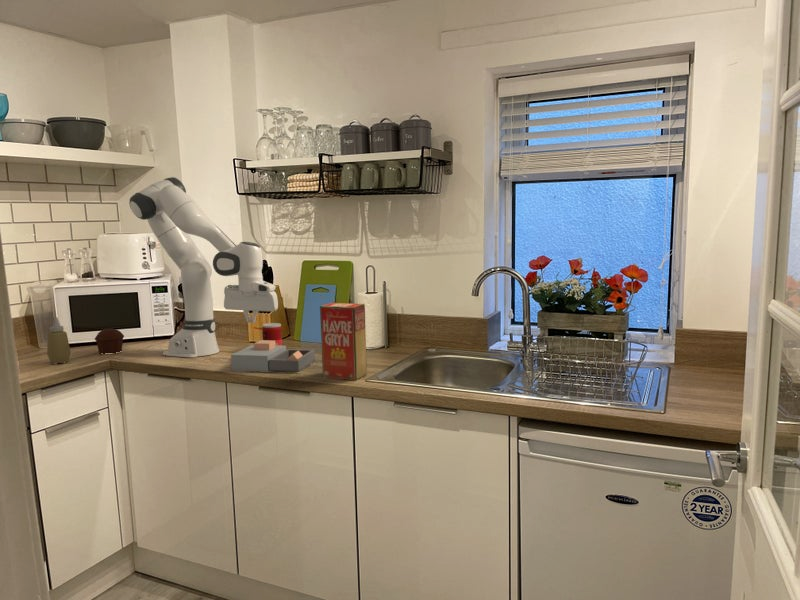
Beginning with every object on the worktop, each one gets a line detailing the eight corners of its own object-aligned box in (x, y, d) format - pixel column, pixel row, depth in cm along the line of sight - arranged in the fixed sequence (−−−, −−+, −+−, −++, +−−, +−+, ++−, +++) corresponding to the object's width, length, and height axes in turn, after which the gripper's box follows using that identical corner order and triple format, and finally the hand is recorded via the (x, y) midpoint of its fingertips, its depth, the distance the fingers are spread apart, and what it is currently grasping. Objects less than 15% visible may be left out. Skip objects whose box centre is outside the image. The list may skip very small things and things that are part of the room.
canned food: (286, 349, 260) (284, 323, 258) (274, 353, 252) (273, 326, 251) (271, 347, 263) (270, 322, 261) (259, 351, 256) (258, 325, 254)
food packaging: (321, 377, 211) (318, 305, 208) (334, 371, 220) (331, 302, 216) (356, 380, 206) (354, 307, 203) (368, 374, 215) (366, 303, 211)
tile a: (292, 353, 219) (297, 359, 219) (298, 350, 225) (302, 355, 225) (281, 364, 220) (285, 369, 220) (286, 360, 226) (291, 365, 226)
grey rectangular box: (231, 371, 223) (230, 354, 222) (252, 359, 240) (251, 344, 240) (268, 372, 220) (267, 355, 219) (286, 360, 238) (285, 345, 237)
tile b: (254, 349, 230) (253, 343, 229) (260, 346, 236) (260, 340, 235) (269, 350, 229) (269, 343, 228) (275, 346, 235) (275, 340, 234)
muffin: (92, 352, 260) (90, 329, 259) (119, 348, 268) (117, 325, 266) (101, 356, 252) (99, 332, 250) (129, 352, 259) (127, 329, 258)
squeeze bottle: (45, 363, 241) (40, 317, 239) (67, 359, 247) (63, 315, 245) (52, 366, 236) (47, 319, 234) (74, 362, 242) (70, 317, 240)
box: (269, 372, 220) (268, 359, 219) (287, 360, 238) (287, 349, 237) (298, 373, 218) (298, 360, 217) (315, 361, 236) (314, 350, 235)
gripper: (220, 285, 228) (221, 322, 230) (273, 287, 225) (273, 324, 227) (227, 283, 234) (228, 319, 236) (279, 285, 231) (279, 322, 233)
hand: (250, 322), depth 231 cm, fingers closed
